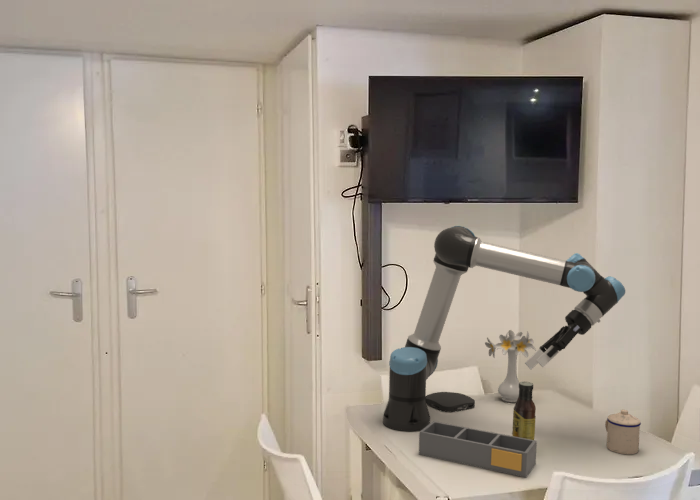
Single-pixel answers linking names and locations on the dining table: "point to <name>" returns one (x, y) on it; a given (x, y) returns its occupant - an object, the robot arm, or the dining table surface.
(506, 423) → the dining table surface
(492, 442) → the caddy
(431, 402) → the media streaming box
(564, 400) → the dining table surface
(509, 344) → the flower vase
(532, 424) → the sauce bottle
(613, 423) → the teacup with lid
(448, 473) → the dining table surface
